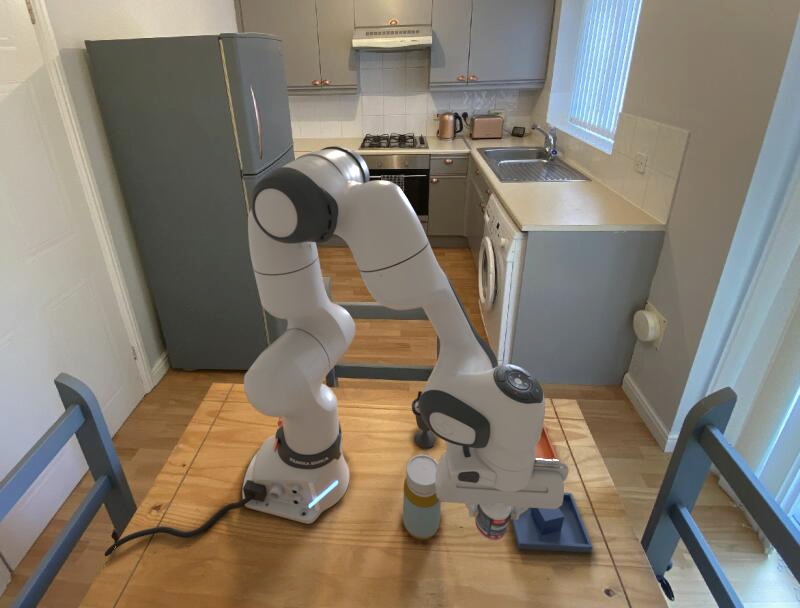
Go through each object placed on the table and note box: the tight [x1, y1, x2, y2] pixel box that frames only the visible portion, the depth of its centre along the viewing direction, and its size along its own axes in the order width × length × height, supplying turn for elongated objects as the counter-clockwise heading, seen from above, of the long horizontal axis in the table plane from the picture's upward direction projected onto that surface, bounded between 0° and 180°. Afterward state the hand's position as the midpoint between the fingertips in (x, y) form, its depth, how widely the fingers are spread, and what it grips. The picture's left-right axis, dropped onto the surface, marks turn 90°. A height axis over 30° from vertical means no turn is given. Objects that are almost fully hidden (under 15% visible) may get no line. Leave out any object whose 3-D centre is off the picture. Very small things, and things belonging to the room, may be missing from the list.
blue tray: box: [510, 492, 593, 554], centre depth 81 cm, size 13×10×2 cm
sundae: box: [411, 390, 436, 449], centre depth 96 cm, size 7×7×15 cm
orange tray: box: [536, 422, 559, 460], centre depth 96 cm, size 13×10×2 cm
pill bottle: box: [474, 503, 511, 542], centre depth 71 cm, size 5×5×9 cm
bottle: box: [402, 453, 442, 541], centre depth 79 cm, size 7×7×15 cm
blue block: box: [531, 507, 564, 535], centre depth 80 cm, size 4×4×4 cm
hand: (492, 513), depth 72 cm, fingers closed on pill bottle, 5 cm apart
